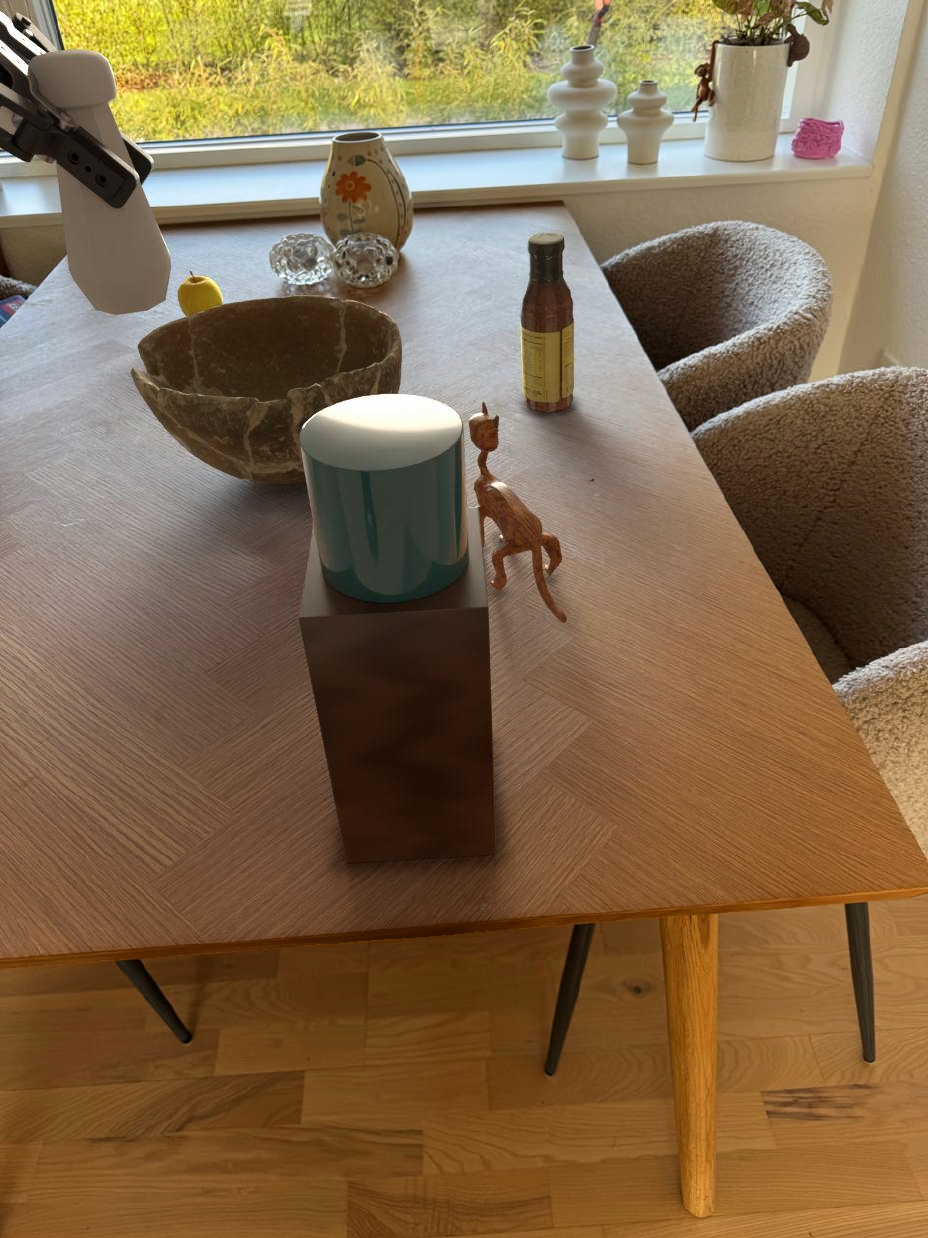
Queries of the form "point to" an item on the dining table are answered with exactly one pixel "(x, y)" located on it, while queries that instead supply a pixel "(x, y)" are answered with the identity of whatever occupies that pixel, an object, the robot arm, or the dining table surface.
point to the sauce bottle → (547, 327)
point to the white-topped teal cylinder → (387, 496)
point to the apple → (198, 295)
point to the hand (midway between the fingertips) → (137, 185)
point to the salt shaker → (95, 231)
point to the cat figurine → (510, 516)
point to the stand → (406, 713)
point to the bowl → (264, 377)
